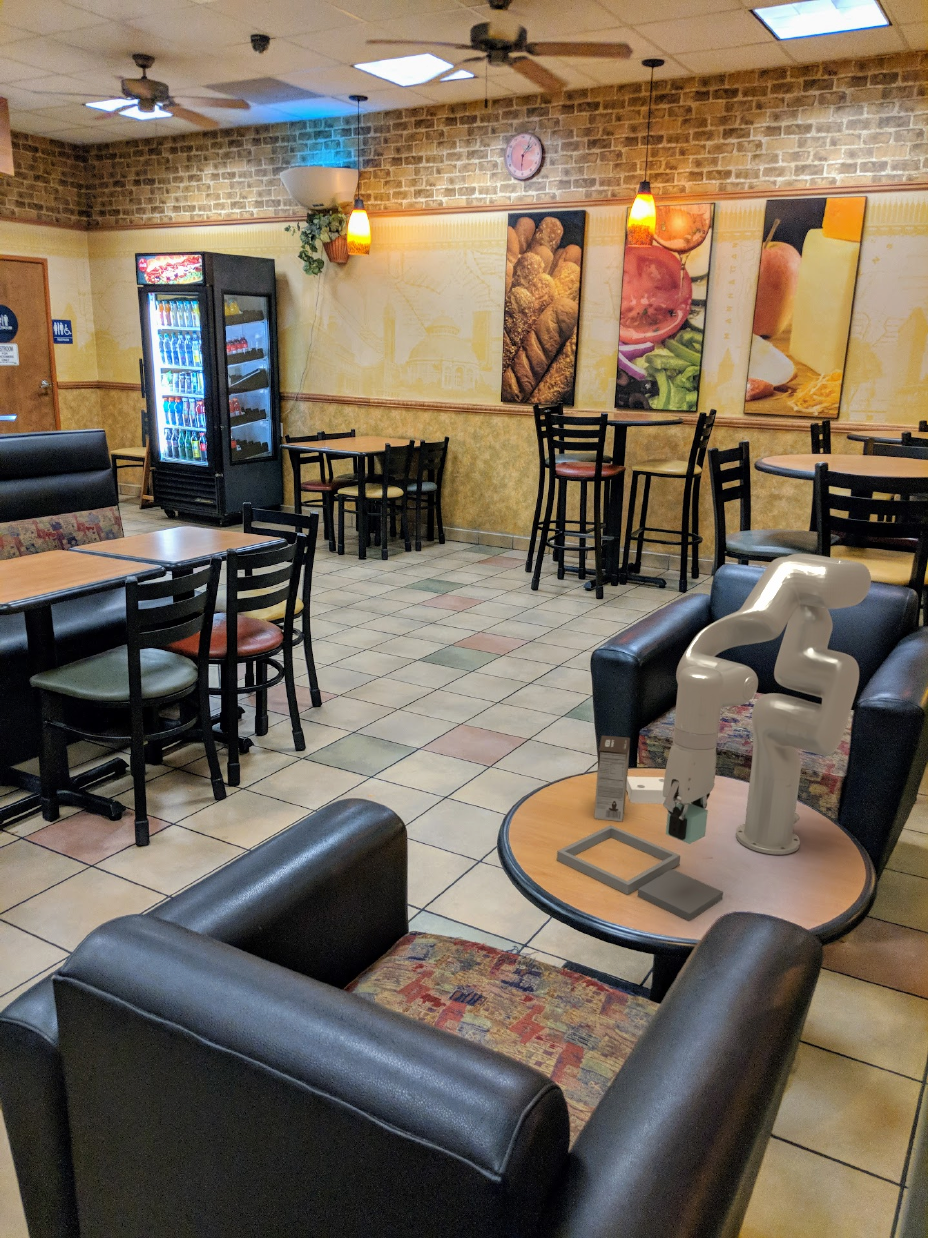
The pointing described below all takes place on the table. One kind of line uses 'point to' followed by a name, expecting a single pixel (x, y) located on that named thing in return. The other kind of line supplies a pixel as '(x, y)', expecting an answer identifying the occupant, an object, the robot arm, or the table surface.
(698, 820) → the teal cube
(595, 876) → the low bin
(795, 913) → the table surface
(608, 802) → the coffee box
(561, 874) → the table surface
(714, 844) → the table surface
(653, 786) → the bracket
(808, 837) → the table surface
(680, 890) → the slate board
